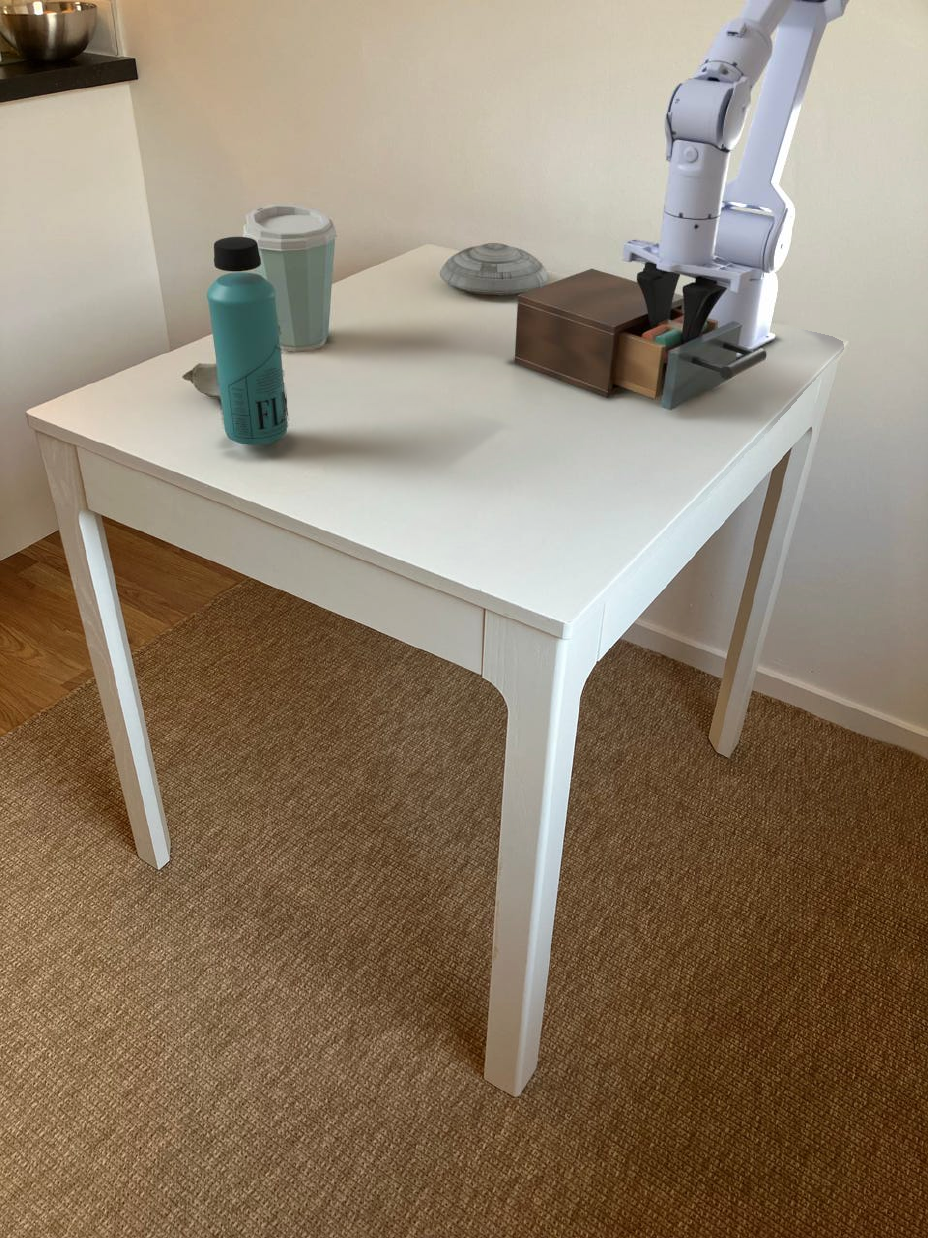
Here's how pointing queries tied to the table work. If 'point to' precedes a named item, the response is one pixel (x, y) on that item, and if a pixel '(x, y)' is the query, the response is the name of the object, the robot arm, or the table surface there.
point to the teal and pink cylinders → (668, 334)
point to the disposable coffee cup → (296, 269)
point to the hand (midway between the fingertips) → (673, 340)
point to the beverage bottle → (247, 346)
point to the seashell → (204, 379)
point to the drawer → (681, 362)
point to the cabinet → (579, 327)
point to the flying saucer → (494, 270)
